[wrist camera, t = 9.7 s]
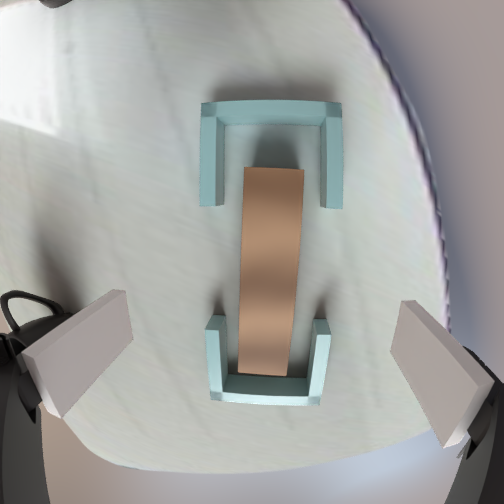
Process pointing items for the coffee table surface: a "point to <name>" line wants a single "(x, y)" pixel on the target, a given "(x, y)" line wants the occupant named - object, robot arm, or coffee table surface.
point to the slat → (269, 267)
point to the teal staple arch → (270, 113)
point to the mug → (33, 329)
